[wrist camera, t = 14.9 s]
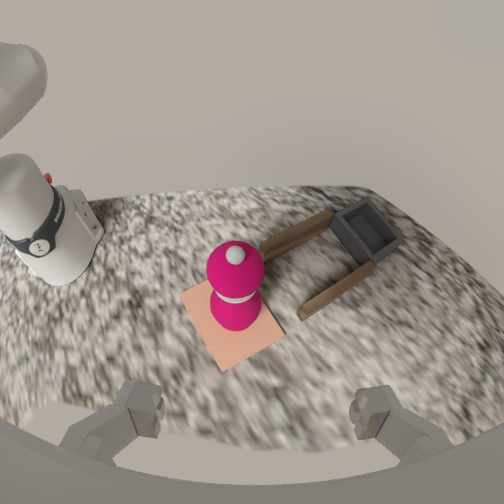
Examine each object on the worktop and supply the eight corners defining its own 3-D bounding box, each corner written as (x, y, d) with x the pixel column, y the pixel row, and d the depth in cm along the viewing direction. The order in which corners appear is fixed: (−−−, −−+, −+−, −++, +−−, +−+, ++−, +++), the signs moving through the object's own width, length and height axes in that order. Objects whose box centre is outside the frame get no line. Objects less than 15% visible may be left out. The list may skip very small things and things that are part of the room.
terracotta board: (179, 295, 45) (179, 294, 44) (238, 264, 48) (238, 263, 47) (222, 372, 40) (222, 371, 39) (284, 335, 43) (285, 335, 42)
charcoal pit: (328, 226, 53) (334, 213, 49) (360, 208, 55) (367, 196, 52) (364, 272, 48) (373, 262, 45) (394, 250, 51) (403, 239, 47)
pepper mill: (226, 343, 41) (218, 302, 24) (204, 303, 44) (183, 237, 26) (267, 320, 43) (290, 264, 26) (244, 282, 46) (250, 206, 28)
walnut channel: (257, 257, 49) (260, 243, 44) (321, 224, 53) (328, 208, 48) (301, 321, 44) (308, 313, 39) (363, 279, 48) (375, 267, 43)
